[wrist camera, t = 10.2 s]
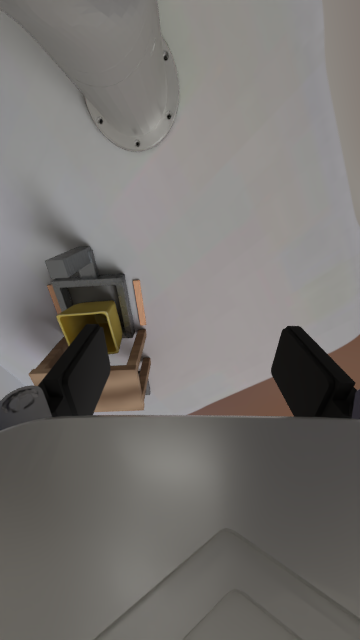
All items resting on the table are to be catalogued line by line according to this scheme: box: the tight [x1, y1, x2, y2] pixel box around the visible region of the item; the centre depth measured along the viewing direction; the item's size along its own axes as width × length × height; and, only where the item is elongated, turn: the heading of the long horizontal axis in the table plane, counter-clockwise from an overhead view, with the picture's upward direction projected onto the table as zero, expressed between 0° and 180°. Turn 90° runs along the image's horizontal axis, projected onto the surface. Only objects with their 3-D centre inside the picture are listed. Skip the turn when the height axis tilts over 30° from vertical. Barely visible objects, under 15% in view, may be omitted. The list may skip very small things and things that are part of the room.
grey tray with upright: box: [45, 247, 135, 338], centre depth 38 cm, size 18×13×10 cm
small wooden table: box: [29, 329, 151, 412], centre depth 43 cm, size 10×18×13 cm, turn 93°
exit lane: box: [47, 280, 146, 325], centre depth 44 cm, size 10×18×1 cm, turn 93°
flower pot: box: [56, 300, 122, 354], centre depth 41 cm, size 9×9×9 cm
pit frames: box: [138, 372, 150, 395], centre depth 54 cm, size 7×15×1 cm, turn 93°
